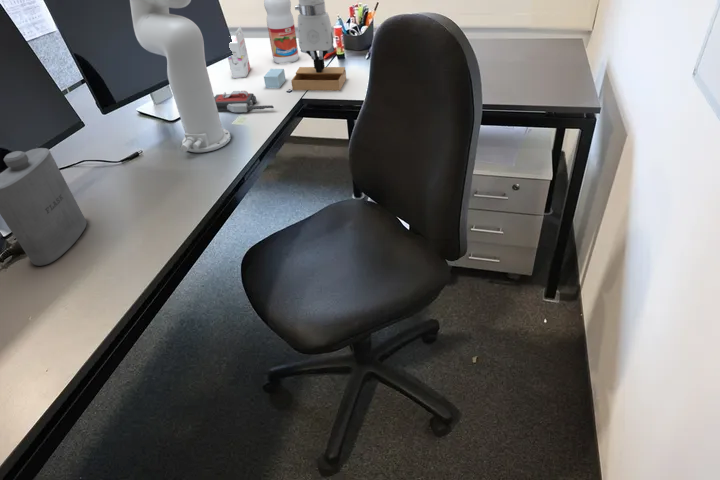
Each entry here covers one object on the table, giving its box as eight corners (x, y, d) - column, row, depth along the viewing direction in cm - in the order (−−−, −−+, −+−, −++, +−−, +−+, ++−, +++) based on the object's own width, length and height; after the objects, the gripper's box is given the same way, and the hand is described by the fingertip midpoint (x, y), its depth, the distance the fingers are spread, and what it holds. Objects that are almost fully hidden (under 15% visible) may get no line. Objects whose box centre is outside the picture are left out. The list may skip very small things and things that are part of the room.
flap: (299, 68, 159) (299, 66, 159) (345, 68, 156) (345, 67, 156) (295, 74, 155) (295, 72, 155) (342, 74, 153) (342, 73, 152)
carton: (301, 79, 161) (299, 69, 159) (346, 79, 158) (345, 69, 156) (292, 91, 154) (291, 80, 152) (339, 91, 151) (338, 80, 149)
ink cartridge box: (237, 69, 173) (227, 26, 164) (250, 68, 173) (242, 25, 163) (231, 78, 166) (221, 33, 157) (246, 77, 166) (236, 32, 157)
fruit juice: (292, 53, 183) (279, -30, 165) (303, 60, 176) (291, -27, 159) (269, 59, 179) (254, -26, 162) (280, 66, 173) (265, -22, 155)
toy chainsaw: (207, 114, 144) (273, 113, 142) (203, 100, 141) (270, 98, 139) (216, 102, 150) (279, 100, 148) (213, 88, 148) (277, 86, 146)
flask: (55, 266, 92) (-1, 176, 80) (27, 266, 93) (-33, 177, 81) (95, 220, 104) (52, 134, 91) (70, 219, 105) (24, 135, 92)
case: (279, 88, 156) (277, 76, 154) (265, 88, 157) (263, 76, 154) (285, 80, 161) (284, 68, 159) (272, 80, 162) (270, 68, 160)
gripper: (284, 13, 142) (294, 75, 153) (334, 12, 139) (340, 75, 151) (292, 6, 148) (300, 66, 159) (339, 5, 145) (345, 66, 156)
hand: (319, 70), depth 155 cm, fingers closed
